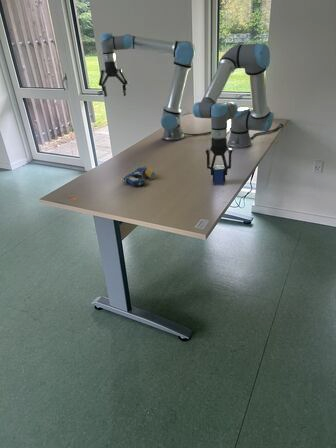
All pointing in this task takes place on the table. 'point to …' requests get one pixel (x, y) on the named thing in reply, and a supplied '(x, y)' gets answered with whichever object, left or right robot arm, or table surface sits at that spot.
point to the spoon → (228, 125)
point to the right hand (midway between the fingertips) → (219, 180)
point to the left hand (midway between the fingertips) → (115, 96)
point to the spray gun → (139, 176)
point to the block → (218, 174)
